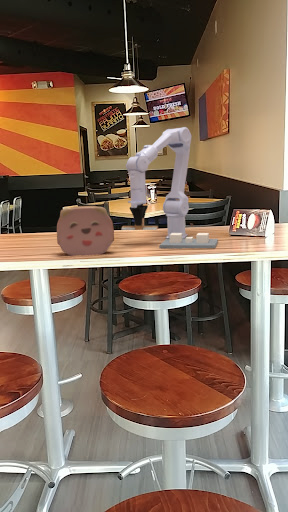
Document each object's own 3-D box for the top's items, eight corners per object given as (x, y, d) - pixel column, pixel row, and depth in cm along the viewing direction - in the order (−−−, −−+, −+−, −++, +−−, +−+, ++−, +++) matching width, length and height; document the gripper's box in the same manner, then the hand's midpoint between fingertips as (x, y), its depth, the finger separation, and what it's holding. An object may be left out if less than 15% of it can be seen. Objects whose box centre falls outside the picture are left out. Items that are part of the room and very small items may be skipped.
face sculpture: (57, 257, 152) (53, 208, 149) (59, 253, 159) (55, 207, 156) (115, 254, 153) (112, 206, 150) (114, 250, 160) (112, 204, 157)
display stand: (166, 241, 174) (166, 231, 173) (217, 241, 169) (217, 231, 168) (159, 248, 161) (159, 236, 160) (214, 248, 156) (214, 237, 155)
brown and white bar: (123, 228, 172) (122, 218, 171) (158, 228, 168) (158, 217, 167) (121, 229, 169) (120, 219, 168) (156, 229, 165) (156, 218, 164)
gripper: (132, 188, 173) (134, 222, 176) (122, 190, 159) (124, 227, 162) (150, 187, 172) (151, 222, 174) (141, 190, 158) (142, 227, 160)
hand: (139, 225), depth 168 cm, fingers closed on brown and white bar, 2 cm apart
